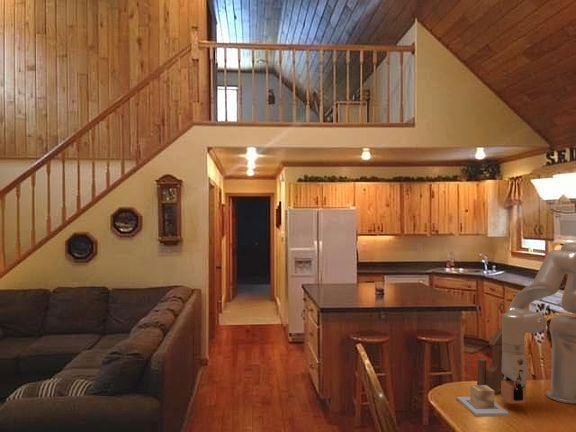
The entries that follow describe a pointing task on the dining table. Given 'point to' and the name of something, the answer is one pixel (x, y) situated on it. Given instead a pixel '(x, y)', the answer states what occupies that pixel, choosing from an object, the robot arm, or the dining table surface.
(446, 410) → the dining table surface
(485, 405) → the birch block
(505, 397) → the rust block
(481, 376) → the wooden toy
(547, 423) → the dining table surface
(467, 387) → the dining table surface
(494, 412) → the board
